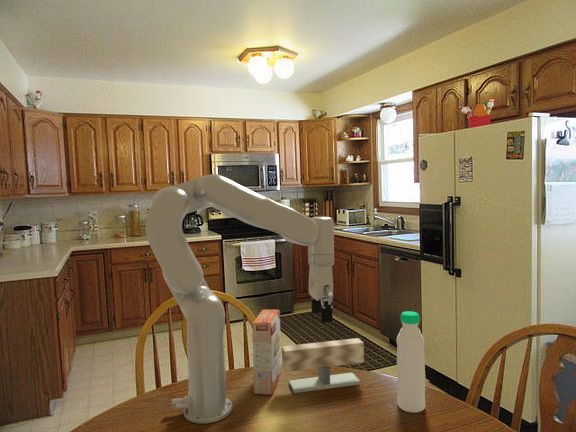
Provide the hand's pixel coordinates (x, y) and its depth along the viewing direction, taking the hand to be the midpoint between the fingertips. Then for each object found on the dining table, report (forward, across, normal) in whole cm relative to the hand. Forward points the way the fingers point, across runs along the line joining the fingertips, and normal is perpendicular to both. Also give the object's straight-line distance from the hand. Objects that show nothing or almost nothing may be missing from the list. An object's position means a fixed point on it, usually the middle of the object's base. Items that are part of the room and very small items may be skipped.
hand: (321, 317), depth 122 cm
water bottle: (+20, +18, +19) cm, 33 cm away
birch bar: (+14, 0, 0) cm, 14 cm away
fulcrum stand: (+20, 0, +1) cm, 20 cm away
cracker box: (+21, -5, -15) cm, 26 cm away
